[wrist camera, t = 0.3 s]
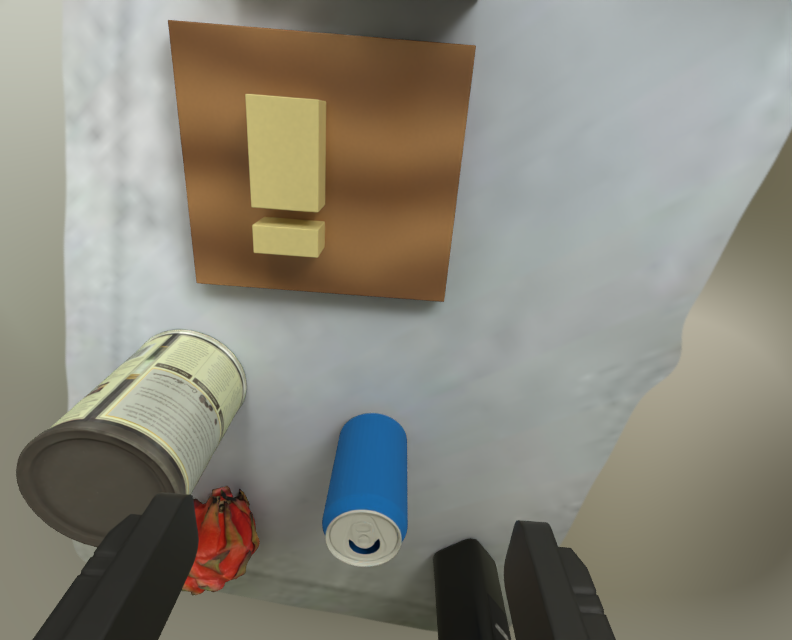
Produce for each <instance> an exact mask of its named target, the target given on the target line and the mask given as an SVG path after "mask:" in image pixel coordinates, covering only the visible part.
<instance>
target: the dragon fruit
mask: <svg viewBox="0 0 792 640" xmlns="http://www.w3.org/2000/svg"><path fill="white" fill-rule="evenodd" d="M239 490H240V489H239ZM193 500H194V507H195V515H196V522H197V529H198V537H199V543H198V550H197V554H196V558H195V561H194V564H193V566H192V568H191V571H190V573H189V575H188V577H187V579H186V581H185V583H184V585H183V588H182V591H188V592H191V594H192V595H198V594H201V593H203V592H204V591H205V590H207V591H212V592H216V591H218V590H220V589H222V588H223V587H224V585H225V582H227V581H229V580H233V579H237V578H238V577H239V576H242V575H244V574H245V573H246V565H247V563H248V561H249V559H250V558H251V556H252V554H253V553H254V552H255V551H256V550H257V548H258V546H259V542H260V540H259V538H258V535H257V532H256V526H255V520H254V518H253V514H252V512H251V511H250V509H249V505H250V504H249V502H248V500H247V497H246V496H245V494H244V492H243V491H241V490H240V492H239V496H237V497H234V498H233V495H232V493H231V491H230V488H229V487H228V486H225V487H222V488H218V489H213V490H212V496H211V497H210V498H209V499H208V501H207V503H206V504H202V503H201V502H199V501H198V500H197V499H193Z"/></svg>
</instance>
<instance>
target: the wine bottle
mask: <svg viewBox="0 0 792 640" xmlns="http://www.w3.org/2000/svg"><path fill="white" fill-rule="evenodd" d="M433 563H434V579H435V594H436V609H437V625H438V640H511V637H510V631H509V627H508V622H507V617H506V612H505V607H504V602H503V597H502V592H501V587H500V582H499V578H498V573H497V568H496V564H495V561H494V560H493V559H492V558H491V556H490V555H489V554H488V553H487V551H486V550H485V549H484V548H483V546H482V545H481V544H480V542H478V541H477V540H476V539H471V538H470V539H466V540H464V541H461V542H459V543H457V544H454V545H452V546H450V547H447V548H445V549H443V550H441V551H439V552H437V553H436V554H435V555H434V558H433Z"/></svg>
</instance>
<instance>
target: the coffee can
mask: <svg viewBox="0 0 792 640" xmlns="http://www.w3.org/2000/svg"><path fill="white" fill-rule="evenodd" d="M245 395H246V378H245V374H244V371H243V368H242V366H241V364H240V363H239V361H238V360H237V358H236V357H235V355H234V354H233V353H232V352H231V351H230V350H229V349H228V348H227V347H226V346H224V345H223V344H222V343H220V342H219V341H217V340H215V339H213V338H212V337H210V336H208V335H204V334H202V333H199V332H195V331H190V330H171V331H165V332H163V333H160V334H158V335H155V336H154V337H152V338H150V339H149V340H148V341H147V342H146V343H145V344H144V345H143V346H142V347H141V348H140V349H139V350H138V351H137V352H136V353H135V354H133V355H132V356H131V357H130V358H129V359H128V360H127V361H125V362H124V363H123V364H122V365H121V366H120V367H119V368H117V369H116V370H115V371H114V372H113V373H112V374H111V375H110V376H108V377H107V378H106V379H105V380H104V381H103V382H102V383H101V384H99V385H98V386H97V387H96V388H95V389H94V390H93V391H91V392H90V393H89V394H88V395H87V396H86V397H85V398H83V399H82V400H81V401H80V402H79V403H77V404H76V405H75V406H74V407H73V408H72V409H71V410H70V411H69V412H68V413H67V414H65V415H64V416H63V417H62V418H61V419H60V420H58V421H57V422H56V424H54V425H53V426H52V427H51V428H50V429H47V430H46V431H44V432H42V433H41V434H39V435H38V436H37V437H35V438H34V439H33V440H32V441H30V442H29V443H28V444H27V446H26V447H25V448H24V449H23V451H22V452H21V454H20V456H19V459H18V463H17V469H16V476H17V483H18V486H19V490H20V492H21V494H22V495H23V498H24V499H25V500H26V502H27V504H28V505H29V506H30V508H32V510H33V511H34V512H35V514H37V516H39V517H40V518H41V519H42V520H43V521H44V522H45V523H46V524H48V525H49V526H50V527H52V528H53V529H55V530H56V531H58V532H60V533H61V534H63V535H65V536H67V537H69V538H71V539H74V540H76V541H79V542H81V543H84V544H88V545H91V546H95V547H98V546H99V545H100V543H101V542H102V541H103V539H104V538H105V536H106V535H107V534H108V532H109V531H110V530H111V529H113V528H114V527H115V526H116V525H118V524H119V523H120V522H121V521H122V520H124V519H125V518H126V517H127V516H129V515H130V514H138V515H142V514H143V513H144V511H145V510H146V508H147V506H148V505H149V503H150V502H151V500H152V499H153V497H154V496H155V495H156V494H158V493H160V492H162V493H176V494H189V495H191V493H192V491H193V489H194V487H195V486H196V484H197V482H198V480H199V478H200V477H201V475H202V473H203V471H204V470H205V468H206V466H207V464H208V462H209V461H210V459H211V457H212V455H213V453H214V452H215V450H216V448H217V446H218V445H219V443H220V441H221V439H222V437H223V436H224V434H225V432H226V430H227V428H228V427H229V425H230V423H231V421H232V419H233V418H234V416H235V414H236V412H237V411H238V409H239V408H240V407H241V405H242V404H243V401H244V399H245Z"/></svg>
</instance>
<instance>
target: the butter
mask: <svg viewBox="0 0 792 640" xmlns="http://www.w3.org/2000/svg"><path fill="white" fill-rule="evenodd" d="M245 99H246V118H247V136H248V155H249V173H250V191H251V207H253V208H266V209H279V210H292V211H304V212H319V211H320V210H321V209H322V208H323V206H324V205H325V169H326V101H322V100H316V99H304V98H292V97H279V96H267V95H255V94H245Z"/></svg>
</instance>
